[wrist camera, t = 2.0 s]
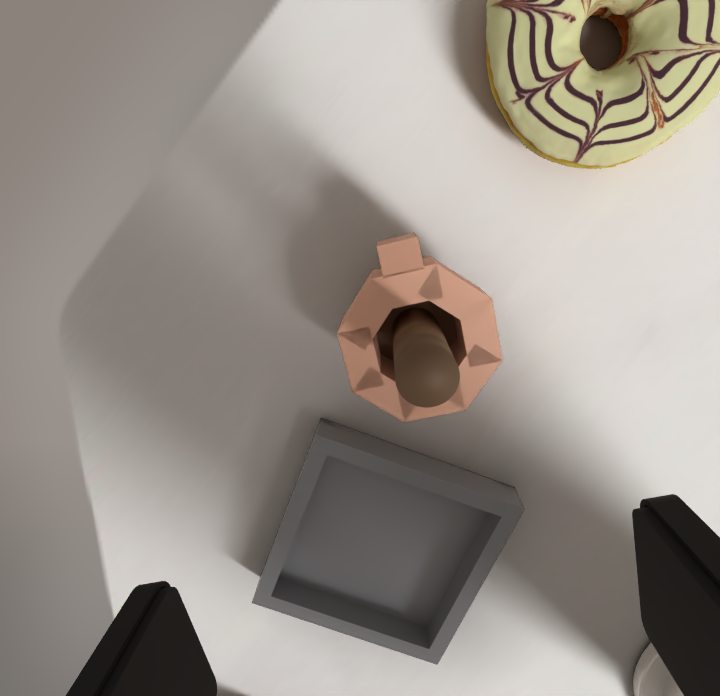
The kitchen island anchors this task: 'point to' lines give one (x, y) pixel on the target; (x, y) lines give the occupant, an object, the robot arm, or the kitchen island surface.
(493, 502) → the tray
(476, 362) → the ring
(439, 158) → the kitchen island surface
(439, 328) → the rod
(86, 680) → the robot arm
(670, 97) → the decorated donut
